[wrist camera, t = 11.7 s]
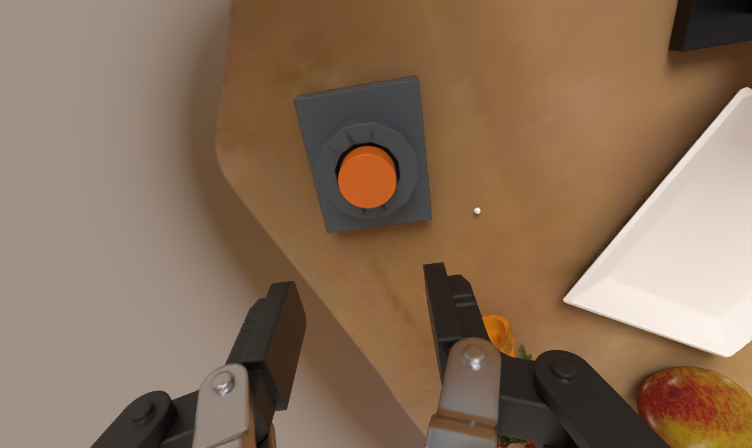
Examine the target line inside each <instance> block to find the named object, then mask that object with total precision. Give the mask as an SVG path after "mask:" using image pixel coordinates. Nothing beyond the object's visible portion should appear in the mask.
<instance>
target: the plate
mask: <svg viewBox="0 0 752 448" xmlns="http://www.w3.org/2000/svg"><path fill="white" fill-rule="evenodd" d="M563 300H564V302H565V303H568V304H571V305H574V306H576V307H579V308H582V309H585V310H588V311H591V312H594V313H597V314H599V315H602V316H605V317H608V318H611V319H614V320H617V321H620V322H622V323H625V324H628V325H631V326H634V327H637V328H640V329H642V330H645V331H648V332H651V333H654V334H657V335H660V336H663V337H665V338H668V339H671V340H674V341H677V342H680V343H683V344H686V345H688V346H691V347H694V348H697V349H700V350H703V351H706V352H709V353H711V354H714V355H717V356H720V357H723V358H727V357H730V356H732V355H734V354H735V353H736V352H737V351H739V350H740V349H741V348H742V347H744V346H745V345H746V344H747V343H749V342H750V341H751V340H752V89H750V88H748V87H746V88H743V89H741V90H739V91H738V92H736V93H735V94H734V95H733V96H732V97H731V98H730V99H729V101H728V102H727V103H726V104H725V105H724V107H723V108H722V109H721V110H720V111H719V112H718V114H717V115H716V116H715V117H714V118H713V120H712V121H711V122H710V123H709V124H708V126H707V127H706V128H705V129H704V130H703V131H702V133H701V134H700V135H699V136H698V137H697V139H696V140H695V141H694V142H693V143H692V145H691V146H690V147H689V148H688V149H687V150H686V152H685V153H684V154H683V155H682V156H681V158H680V159H679V160H678V161H677V162H676V163H675V165H674V166H673V167H672V168H671V169H670V171H669V172H668V173H667V174H666V175H665V177H664V178H663V179H662V180H661V181H660V182H659V184H658V185H657V186H656V187H655V188H654V190H653V191H652V192H651V193H650V194H649V196H648V197H647V198H646V199H645V200H644V201H643V203H642V204H641V205H640V206H639V207H638V209H637V210H636V211H635V212H634V213H633V215H632V216H631V217H630V218H629V219H628V220H627V222H626V223H625V224H624V225H623V226H622V228H621V229H620V230H619V231H618V232H617V233H616V235H615V236H614V237H613V238H612V239H611V241H610V242H609V243H608V244H607V245H606V247H605V248H604V249H603V250H602V251H601V252H600V254H599V255H598V256H597V257H596V258H595V260H594V261H593V262H592V263H591V264H590V266H589V267H588V268H587V269H586V270H585V271H584V273H583V274H582V275H581V276H580V277H579V279H578V280H577V281H576V282H575V283H574V285H573V286H572V287H571V288H570V289H569V290H568V292H567V293H566V294H565V296H564V298H563Z"/></svg>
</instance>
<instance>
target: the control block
mask: <svg viewBox="0 0 752 448" xmlns="http://www.w3.org/2000/svg"><path fill="white" fill-rule="evenodd" d="M294 104H295V108H296V112H297V116H298V119H299V123H300V127H301V131H302V135H303V139H304V143H305V147H306V151H307V155H308V158H309V162H310V166H311V170H312V174H313V178H314V182H315V186H316V190H317V193H318V197H319V201H320V205H321V209H322V213H323V217H324V221H325V225H326V229H327V232H328V233H335V232H343V231H350V230H357V229H365V228H372V227H380V226H387V225H394V224H402V223H409V222H417V221H424V220H431V219H432V214H431V204H430V193H429V182H428V172H427V161H426V150H425V140H424V129H423V119H422V108H421V97H420V87H419V79H418V78H417V76H411V77H405V78H399V79H393V80H387V81H381V82H375V83H369V84H363V85H357V86H351V87H345V88H339V89H333V90H327V91H321V92H315V93H309V94H303V95H298V96H297V97H296V98H295V99H294ZM362 146H373V147H377V148H379V149H382V150H383V151H385V152H386V153H387V154H388V155H389V156H390V157H391V159H392V161H393V163H394V166H395V172H396V181H397V182H396V188H395V191H394V193H393V195H392V196H391V198H390V199H389V200H388V201H387V202H386V203H384V204H382V205H380V206H378V207H375V208H361V207H357V206H355V205H353V204H351V203H350V202H348V201H347V200H346V199H345V198H344V196H343V195H342V193H341V191H340V189H339V185H338V177H339V172H340V168H341V164H342V162H343V160H344V158H345V157H346V155H347V154H348V153H349V152H351V151H352V150H354V149H356V148H358V147H362Z"/></svg>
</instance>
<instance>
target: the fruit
mask: <svg viewBox="0 0 752 448" xmlns="http://www.w3.org/2000/svg"><path fill="white" fill-rule="evenodd" d="M637 409H638V413H639V415H640V417H641V418H642V419H643V420H644V421H645V422H646V423H647V424H648V425H649V426H650V427H651V428H652V429H653V430H654V431H655V432H656V433H657V434H658V435H659V436H660V437H661V438H662V439H663V440H664V441H665V442H666V443H667V444H668V445H669V446H670V447H671V448H752V397H751V396H750V395H749V394H748V393H747V392H746V391H745V390H744V389H743V388H742V387H740V386H739V385H738V384H736V383H735V382H734V381H732V380H731V379H729V378H728V377H726V376H724V375H722V374H720V373H717V372H715V371H712V370H708V369H703V368H696V367H675V368H669V369H665V370H661V371H659V372H657V373H655V374H653V375H652V376H650V377H648V378H647V379H646V380H645V381H644V382H643V384H642V385H641V387H640V389H639V391H638V394H637Z"/></svg>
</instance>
